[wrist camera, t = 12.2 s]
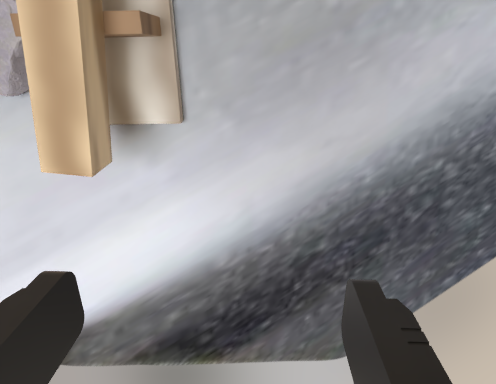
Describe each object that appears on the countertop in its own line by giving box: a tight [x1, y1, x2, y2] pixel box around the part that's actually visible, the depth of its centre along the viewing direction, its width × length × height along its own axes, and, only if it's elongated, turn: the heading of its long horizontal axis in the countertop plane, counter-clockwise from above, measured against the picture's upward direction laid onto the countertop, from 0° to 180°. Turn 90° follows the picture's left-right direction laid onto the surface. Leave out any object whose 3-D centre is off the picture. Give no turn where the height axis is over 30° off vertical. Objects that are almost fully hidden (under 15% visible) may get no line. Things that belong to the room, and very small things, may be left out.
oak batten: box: [16, 0, 112, 177], centre depth 24 cm, size 4×22×4 cm, turn 175°
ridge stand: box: [10, 0, 183, 125], centre depth 30 cm, size 12×18×8 cm, turn 1°
